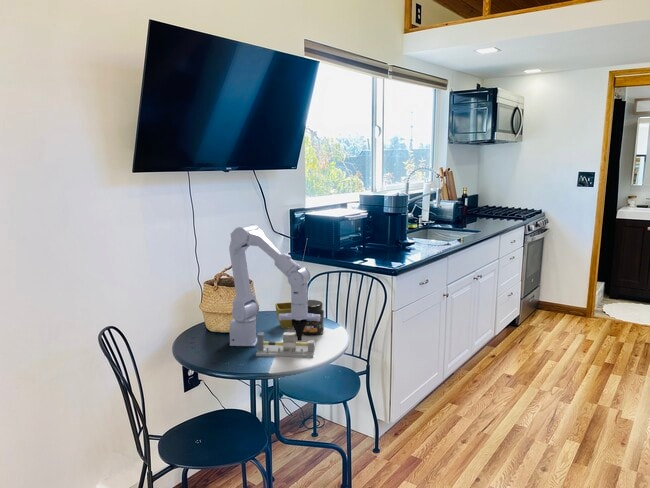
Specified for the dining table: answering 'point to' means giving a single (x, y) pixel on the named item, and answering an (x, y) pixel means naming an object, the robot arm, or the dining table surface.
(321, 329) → the supplement container
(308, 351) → the slider rail
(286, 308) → the flower pot
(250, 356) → the dining table surface
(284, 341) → the sleeve
